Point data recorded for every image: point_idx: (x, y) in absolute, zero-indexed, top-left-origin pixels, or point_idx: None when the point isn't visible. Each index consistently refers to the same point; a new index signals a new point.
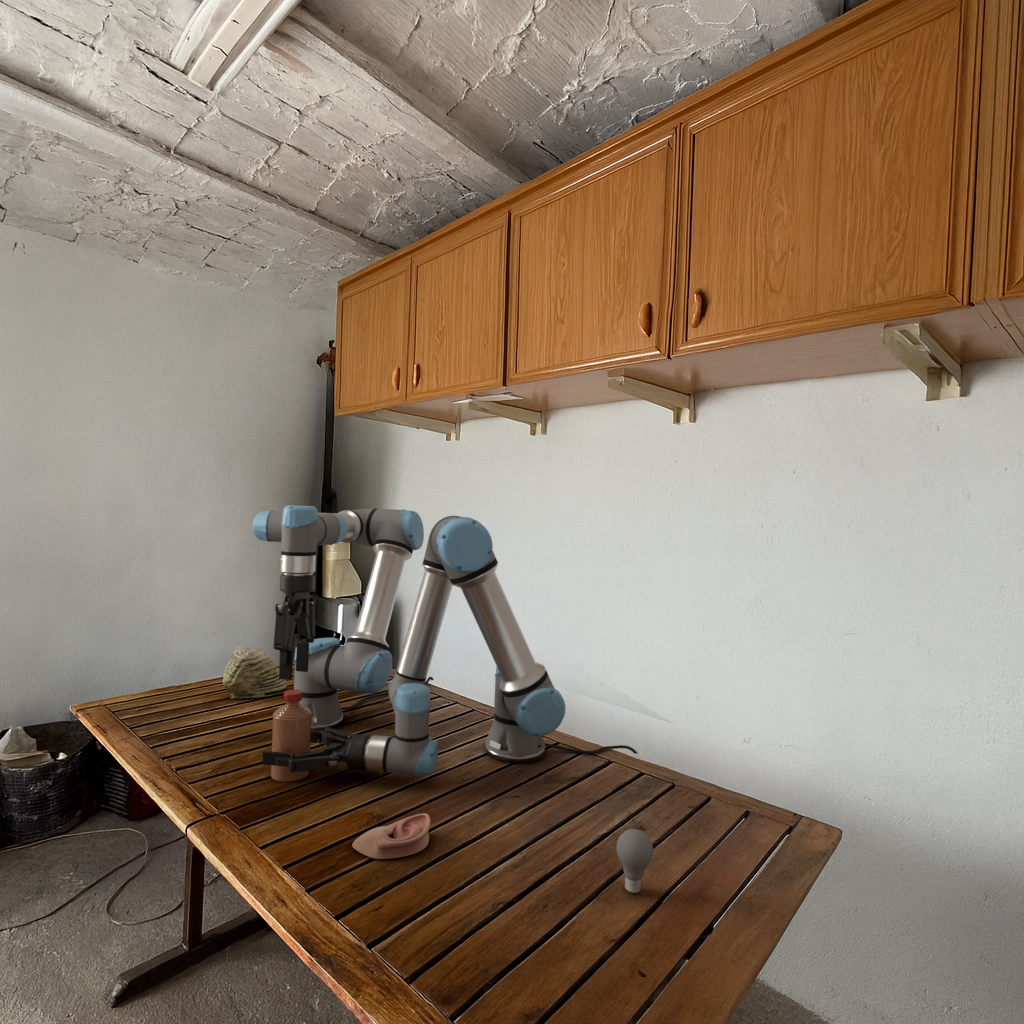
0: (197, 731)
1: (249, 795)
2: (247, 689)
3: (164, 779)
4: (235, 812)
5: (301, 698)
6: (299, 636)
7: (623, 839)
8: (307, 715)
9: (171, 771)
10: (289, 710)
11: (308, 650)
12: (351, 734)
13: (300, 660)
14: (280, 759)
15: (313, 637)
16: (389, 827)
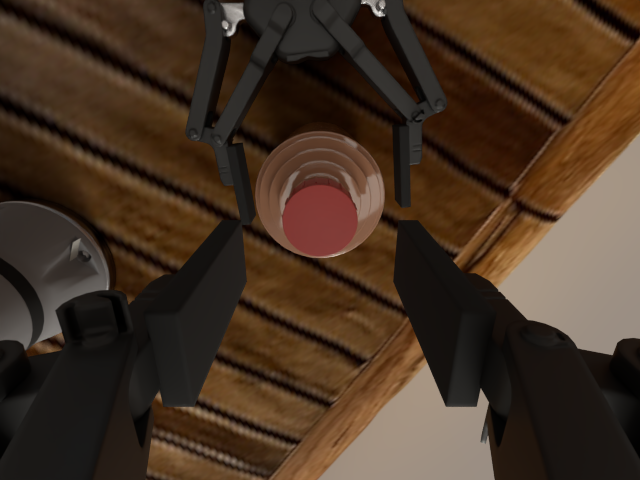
0: (208, 426)
1: (432, 187)
2: None
3: (402, 356)
4: (503, 171)
5: (316, 178)
6: (145, 452)
7: None
8: (326, 134)
9: (372, 365)
10: (358, 195)
11: (178, 278)
12: (207, 24)
13: (228, 288)
14: (421, 148)
15: (7, 345)
16: None
